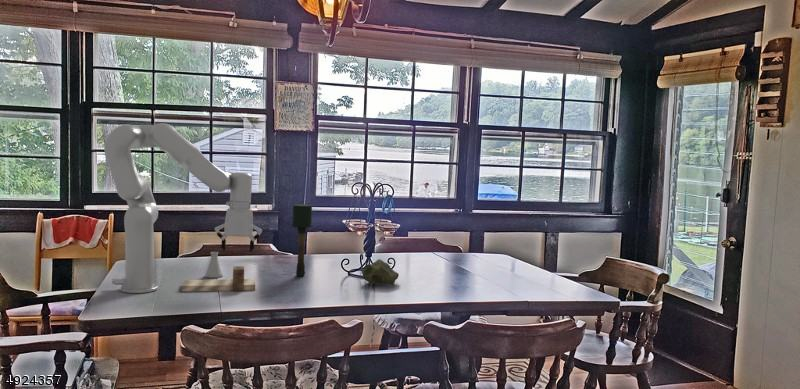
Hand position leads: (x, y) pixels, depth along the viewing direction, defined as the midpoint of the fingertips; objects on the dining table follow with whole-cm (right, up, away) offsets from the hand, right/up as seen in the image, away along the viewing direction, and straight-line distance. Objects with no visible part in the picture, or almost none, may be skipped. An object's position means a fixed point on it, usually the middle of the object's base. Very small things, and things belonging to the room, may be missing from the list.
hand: (237, 250), depth 226 cm
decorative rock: (+54, -16, +18) cm, 59 cm away
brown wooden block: (-1, -14, +4) cm, 14 cm away
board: (-7, -14, +2) cm, 16 cm away
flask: (-15, -13, +20) cm, 28 cm away
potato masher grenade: (+19, -13, +28) cm, 36 cm away
